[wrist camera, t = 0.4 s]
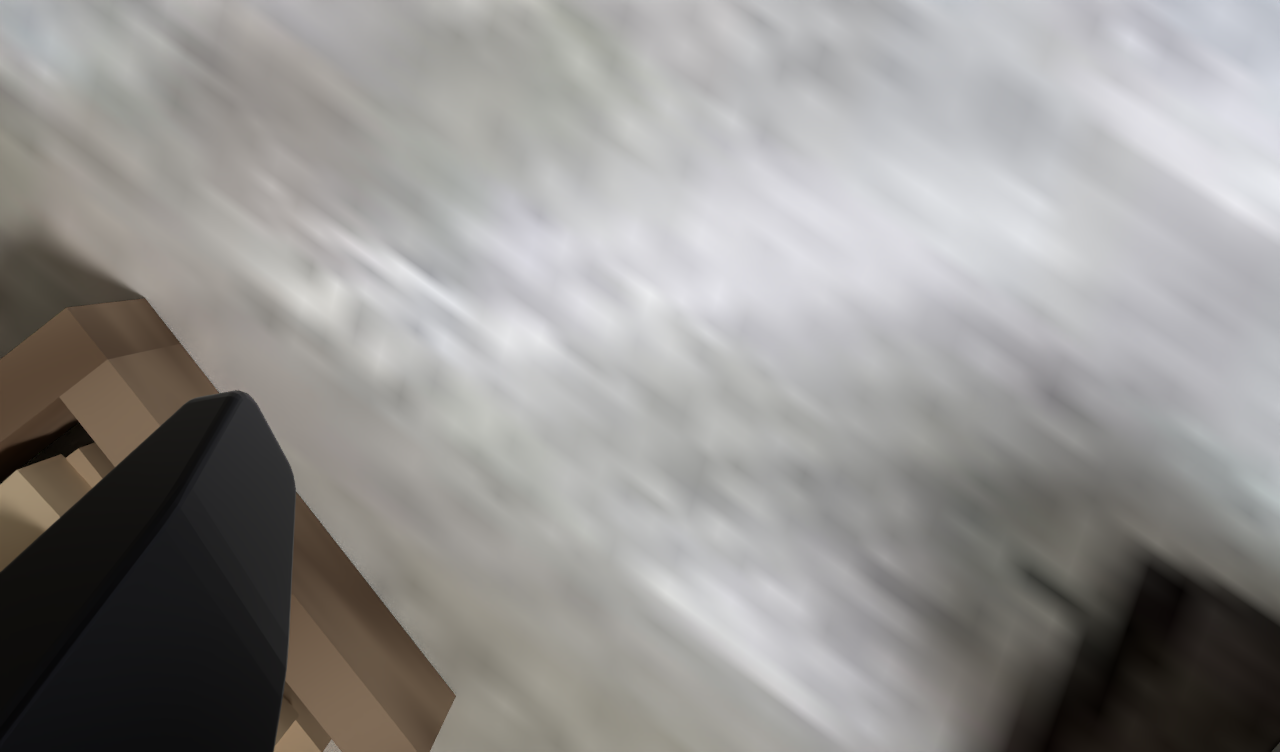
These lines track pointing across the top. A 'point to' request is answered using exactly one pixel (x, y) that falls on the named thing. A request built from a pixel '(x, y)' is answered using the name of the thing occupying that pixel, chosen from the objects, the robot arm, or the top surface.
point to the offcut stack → (48, 490)
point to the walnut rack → (322, 574)
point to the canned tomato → (1277, 748)
